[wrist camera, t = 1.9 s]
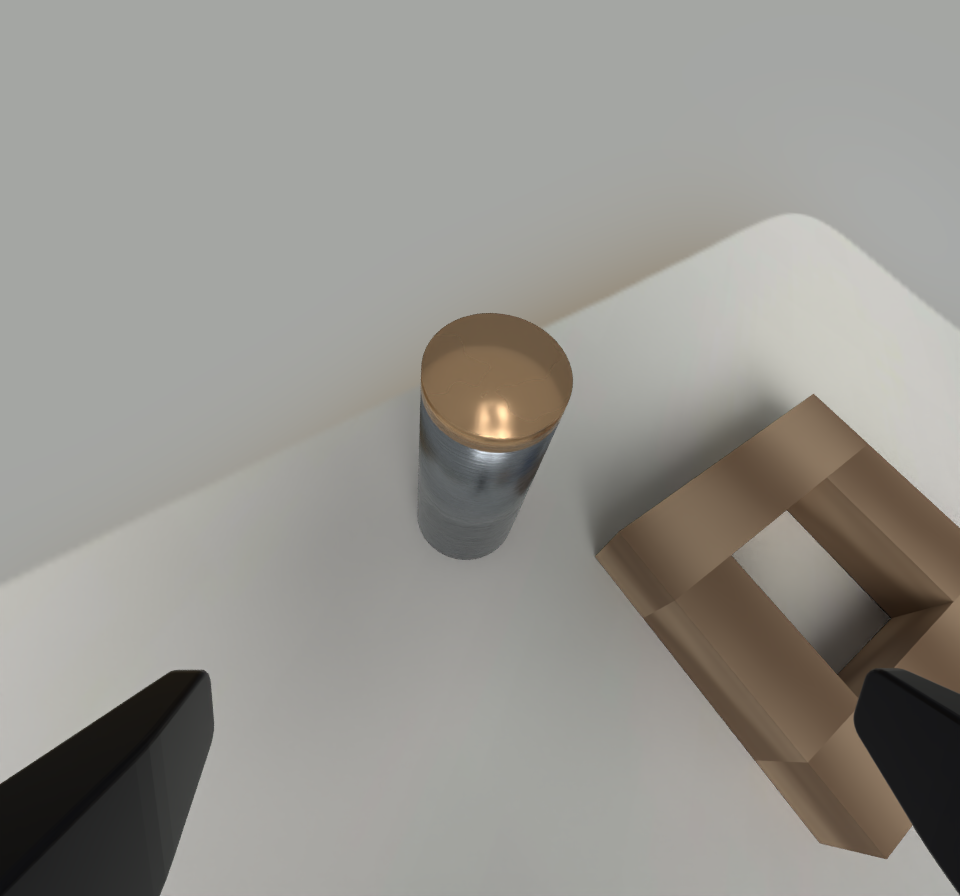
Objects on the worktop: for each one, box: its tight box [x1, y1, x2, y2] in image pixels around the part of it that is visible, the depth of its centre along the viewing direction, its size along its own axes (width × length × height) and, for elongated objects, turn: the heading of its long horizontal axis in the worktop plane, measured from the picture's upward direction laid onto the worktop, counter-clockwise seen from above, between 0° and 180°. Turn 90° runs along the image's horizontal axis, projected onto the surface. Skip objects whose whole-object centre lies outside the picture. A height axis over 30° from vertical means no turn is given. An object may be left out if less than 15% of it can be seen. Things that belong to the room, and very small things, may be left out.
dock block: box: [595, 394, 960, 859], centre depth 21 cm, size 12×12×3 cm
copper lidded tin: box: [418, 313, 573, 560], centre depth 19 cm, size 4×4×10 cm
